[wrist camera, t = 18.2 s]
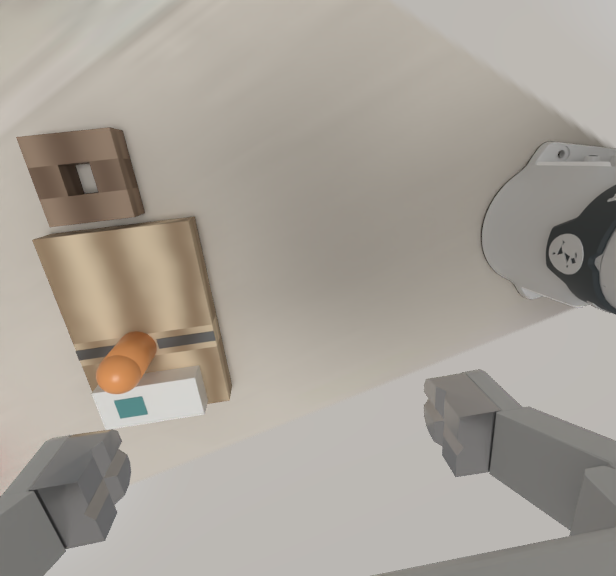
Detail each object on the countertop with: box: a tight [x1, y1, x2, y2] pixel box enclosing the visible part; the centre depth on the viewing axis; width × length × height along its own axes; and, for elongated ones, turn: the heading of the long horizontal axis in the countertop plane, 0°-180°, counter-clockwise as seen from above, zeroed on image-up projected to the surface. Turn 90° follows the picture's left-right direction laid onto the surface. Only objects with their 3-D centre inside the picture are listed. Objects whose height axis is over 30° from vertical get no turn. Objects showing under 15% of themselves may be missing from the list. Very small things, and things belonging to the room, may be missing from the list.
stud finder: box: [91, 365, 208, 430], centre depth 39 cm, size 11×5×3 cm, turn 96°
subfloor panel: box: [32, 217, 232, 404], centre depth 39 cm, size 15×22×3 cm
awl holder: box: [16, 128, 145, 227], centre depth 33 cm, size 8×8×3 cm
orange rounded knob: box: [96, 331, 157, 394], centre depth 36 cm, size 4×4×10 cm
